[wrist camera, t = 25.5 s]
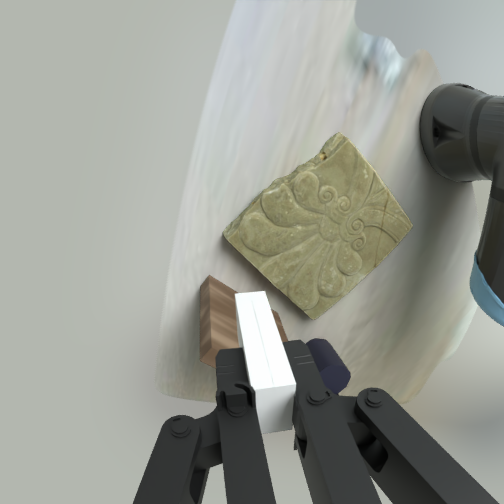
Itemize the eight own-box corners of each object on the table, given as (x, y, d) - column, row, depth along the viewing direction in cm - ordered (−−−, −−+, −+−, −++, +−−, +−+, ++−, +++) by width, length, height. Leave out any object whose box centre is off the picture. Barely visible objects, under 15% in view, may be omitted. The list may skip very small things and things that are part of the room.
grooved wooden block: (212, 271, 42) (216, 347, 27) (279, 312, 46) (309, 391, 31) (197, 289, 43) (195, 370, 28) (264, 328, 47) (288, 409, 32)
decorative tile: (406, 221, 44) (419, 229, 40) (308, 312, 47) (314, 326, 44) (332, 120, 37) (343, 120, 34) (216, 229, 41) (217, 238, 37)
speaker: (320, 374, 52) (339, 414, 42) (289, 370, 51) (304, 412, 41) (337, 337, 50) (361, 374, 40) (305, 332, 49) (325, 370, 39)
